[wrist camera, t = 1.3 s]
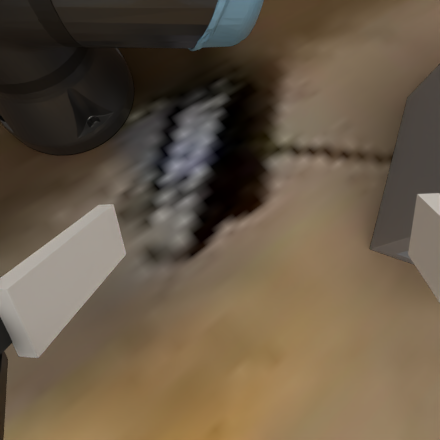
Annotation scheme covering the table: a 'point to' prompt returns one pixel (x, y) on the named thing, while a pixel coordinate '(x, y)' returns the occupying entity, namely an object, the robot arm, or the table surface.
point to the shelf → (410, 169)
